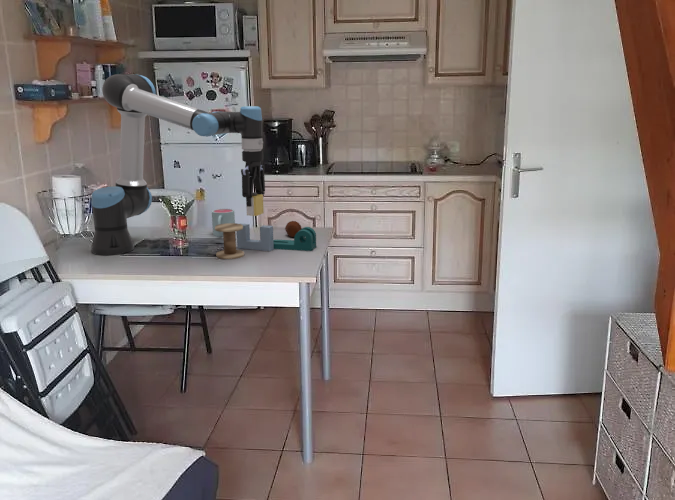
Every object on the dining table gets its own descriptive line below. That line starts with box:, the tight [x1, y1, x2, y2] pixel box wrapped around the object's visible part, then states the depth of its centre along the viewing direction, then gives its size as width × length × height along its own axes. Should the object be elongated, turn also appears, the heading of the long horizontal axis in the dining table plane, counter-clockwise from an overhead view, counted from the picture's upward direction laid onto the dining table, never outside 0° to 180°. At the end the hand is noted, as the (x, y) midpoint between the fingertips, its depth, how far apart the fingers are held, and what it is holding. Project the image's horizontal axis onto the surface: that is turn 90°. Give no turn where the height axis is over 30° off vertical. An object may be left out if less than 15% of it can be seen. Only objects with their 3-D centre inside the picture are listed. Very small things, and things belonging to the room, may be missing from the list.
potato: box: [284, 220, 303, 238], centre depth 258 cm, size 7×9×6 cm
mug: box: [211, 208, 236, 238], centre depth 259 cm, size 14×9×10 cm
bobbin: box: [215, 222, 245, 260], centre depth 228 cm, size 10×10×11 cm
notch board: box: [236, 223, 275, 252], centre depth 238 cm, size 14×3×9 cm, turn 69°
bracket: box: [273, 226, 317, 252], centre depth 239 cm, size 18×7×8 cm, turn 77°
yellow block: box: [249, 191, 265, 217], centre depth 231 cm, size 4×6×8 cm
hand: (254, 213), depth 232 cm, fingers closed on yellow block, 5 cm apart
